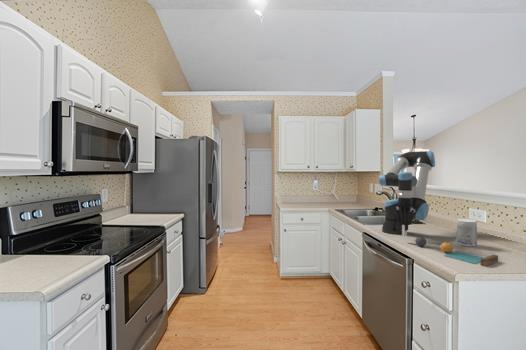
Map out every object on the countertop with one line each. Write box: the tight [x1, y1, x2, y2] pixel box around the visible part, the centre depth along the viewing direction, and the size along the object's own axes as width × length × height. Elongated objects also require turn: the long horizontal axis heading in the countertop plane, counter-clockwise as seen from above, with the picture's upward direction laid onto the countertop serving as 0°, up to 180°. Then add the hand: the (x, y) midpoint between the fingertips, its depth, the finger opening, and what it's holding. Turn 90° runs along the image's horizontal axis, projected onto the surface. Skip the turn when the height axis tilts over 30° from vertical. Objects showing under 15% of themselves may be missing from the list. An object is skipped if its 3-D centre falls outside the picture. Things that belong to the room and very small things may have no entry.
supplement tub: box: [456, 218, 478, 248], centre depth 160 cm, size 10×10×15 cm
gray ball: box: [415, 236, 427, 247], centre depth 158 cm, size 6×6×6 cm
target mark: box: [443, 250, 485, 265], centre depth 138 cm, size 14×14×1 cm
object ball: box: [440, 242, 454, 254], centre depth 146 cm, size 6×6×6 cm
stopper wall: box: [480, 254, 499, 267], centre depth 129 cm, size 2×13×3 cm, turn 120°
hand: (404, 235), depth 166 cm, fingers closed
